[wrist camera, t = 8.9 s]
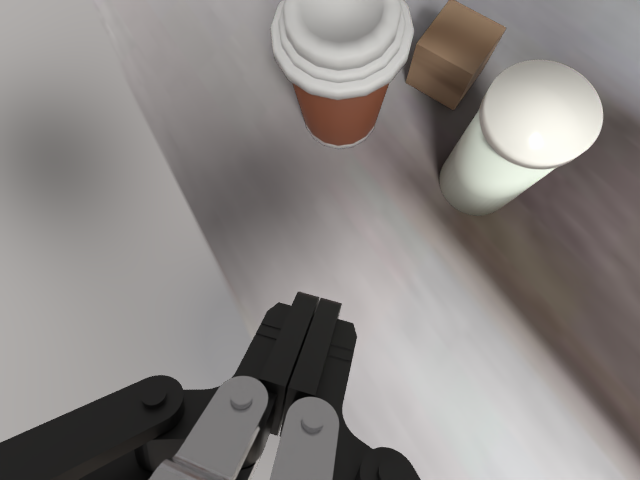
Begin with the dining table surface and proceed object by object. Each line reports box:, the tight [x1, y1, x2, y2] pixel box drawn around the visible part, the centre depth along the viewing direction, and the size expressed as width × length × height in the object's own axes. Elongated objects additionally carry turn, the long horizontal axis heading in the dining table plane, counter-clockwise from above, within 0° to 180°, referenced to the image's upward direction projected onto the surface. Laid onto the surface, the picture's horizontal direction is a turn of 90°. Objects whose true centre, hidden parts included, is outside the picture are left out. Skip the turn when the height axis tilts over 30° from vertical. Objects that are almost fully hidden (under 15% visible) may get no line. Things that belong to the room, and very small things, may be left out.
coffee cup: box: [270, 0, 414, 149], centre depth 28 cm, size 9×9×12 cm
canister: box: [439, 60, 603, 216], centre depth 27 cm, size 6×6×11 cm
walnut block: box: [406, 0, 506, 110], centre depth 32 cm, size 5×5×5 cm
